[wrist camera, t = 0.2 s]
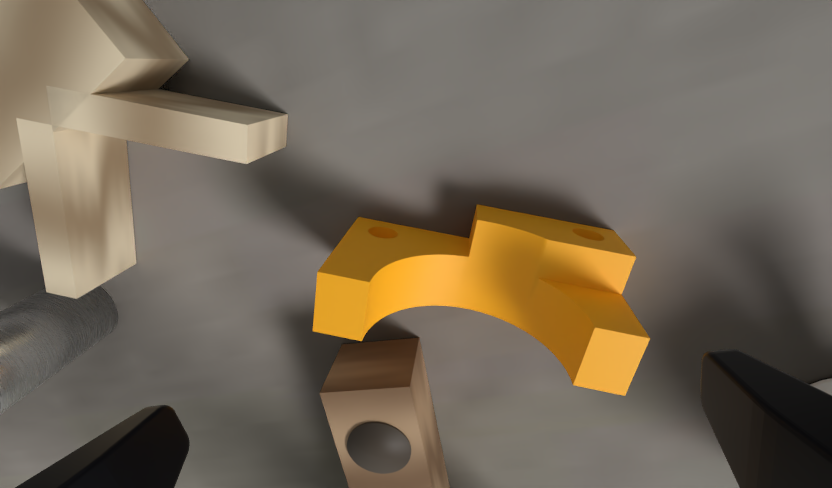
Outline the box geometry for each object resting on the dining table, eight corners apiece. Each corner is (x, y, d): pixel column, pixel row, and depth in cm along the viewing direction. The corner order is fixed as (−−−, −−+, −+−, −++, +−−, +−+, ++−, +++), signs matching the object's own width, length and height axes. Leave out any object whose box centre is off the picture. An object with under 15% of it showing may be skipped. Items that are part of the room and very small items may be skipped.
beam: (451, 497, 28) (448, 565, 24) (385, 499, 29) (371, 565, 25) (419, 337, 24) (409, 388, 20) (341, 344, 25) (318, 395, 21)
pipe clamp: (612, 229, 21) (669, 295, 15) (584, 308, 23) (624, 395, 17) (363, 181, 21) (321, 227, 15) (353, 262, 23) (312, 331, 17)
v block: (302, 133, 21) (265, 148, 17) (124, 272, 25) (63, 309, 21) (150, -69, 18) (69, -103, 15) (-20, 121, 22) (-117, 133, 19)
